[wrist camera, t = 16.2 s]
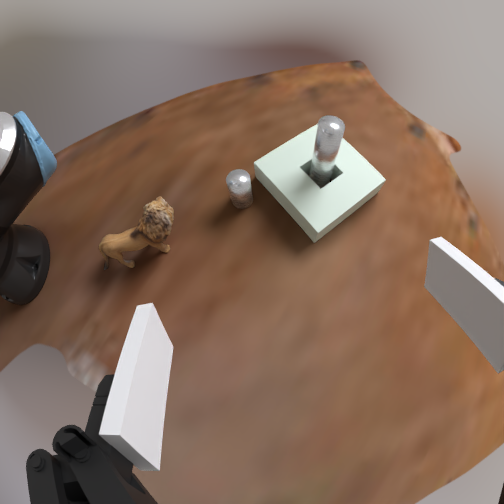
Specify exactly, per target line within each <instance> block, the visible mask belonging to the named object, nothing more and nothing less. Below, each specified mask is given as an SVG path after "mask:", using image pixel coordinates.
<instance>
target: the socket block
mask: <svg viewBox="0 0 504 504" xmlns="http://www.w3.org/2000/svg"><path fill="white" fill-rule="evenodd" d="M317 128H318V124H317V125H315V126H313V127H311V128H310V129H308V130H306V131H305V132H303V133H301V134H299V135H298V136H296V137H294V138H293V139H291V140H289V141H288V142H286V143H284V144H283V145H281V146H280V147H278V148H276V149H275V150H273V151H271V152H270V153H268V154H267V155H265V156H263V157H262V158H260V159H259V160H257V161H256V162H254V168H255V177H256V178H257V179H258V180H259V181H260V182H261V183H262V184H263V185H264V187H265V188H266V189H267V190H268V191H269V192H270V193H271V194H272V195H273V196H274V198H275V199H276V200H277V201H278V202H279V203H280V204H281V205H282V207H283V208H284V209H285V210H286V211H287V212H288V213H289V214H290V216H291V217H292V218H293V219H294V220H295V221H296V222H297V224H298V225H299V226H300V227H301V228H302V229H303V230H304V232H305V233H306V234H307V235H308V236H309V237H310V239H311V240H312V241H313V242H314V243H315V242H316V241H318V240H319V239H320V238H321V237H323V236H324V235H325V234H327V233H328V232H329V231H330V230H332V229H333V228H334V227H336V226H337V225H338V224H339V223H341V222H342V221H343V220H344V219H346V218H347V217H348V216H349V215H351V214H352V213H353V212H354V211H356V210H357V209H358V208H360V207H361V206H362V205H363V204H365V203H366V202H367V201H368V200H369V199H371V198H372V197H373V196H374V195H376V194H377V193H378V192H379V190H380V189H381V187H382V185H383V184H384V182H385V180H386V179H385V178H384V177H383V176H382V175H381V174H380V173H379V172H378V171H377V170H376V169H375V168H374V167H373V166H372V165H371V164H370V163H369V162H368V161H367V160H366V159H365V158H364V157H363V156H361V155H360V154H359V153H358V152H357V151H356V150H355V149H354V148H353V147H352V146H351V145H350V144H349V143H348V142H346V141H345V140H344V139H343V138H342V140H341V144H340V148H339V151H338V154H337V158H336V161H335V165H334V168H333V172H332V175H331V179H332V180H333V181H331V182H330V183H328V184H327V185H326V186H324V187H323V188H321V189H320V187H319V186H318V185H317V184H316V183H315V182H314V181H313V180H312V179H311V178H310V177H309V176H308V175H307V174H309V173H310V169H311V163H312V157H313V152H314V146H315V140H316V134H317Z"/></svg>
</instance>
